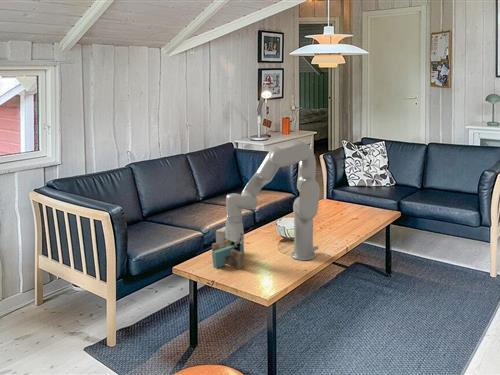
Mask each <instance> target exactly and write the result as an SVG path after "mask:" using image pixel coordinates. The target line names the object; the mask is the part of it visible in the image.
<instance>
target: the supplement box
mask: <svg viewBox="0 0 500 375" xmlns="http://www.w3.org/2000/svg"><path fill="white" fill-rule="evenodd" d="M215 241H216V242H215V243H218V244H221V245H224V246H225V247H228V246H230V245H229V241H228V240H227V239H226V238H225V226H223V227H222V228H219V229H216V230H215Z"/></svg>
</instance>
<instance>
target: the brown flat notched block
mask: <svg viewBox="0 0 500 375" xmlns="http://www.w3.org/2000/svg"><path fill="white" fill-rule="evenodd" d="M222 248H225V246H224V245H221V244H218V243H216V242H214V243H212V244H211V250H212V251H211V254H212V255H211V256H212V259H213V251H216V250H219V249H222ZM225 263H226V266H227V265H228V266H230V267H232V268H235V269H237V270H240V271H241V270H244V269H245V252H244V253H242V252H240V251H237V250H234V249H233V250H230V256H228V257H225Z"/></svg>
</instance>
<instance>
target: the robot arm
mask: <svg viewBox="0 0 500 375" xmlns="http://www.w3.org/2000/svg"><path fill="white" fill-rule="evenodd" d="M294 164H298V172H297V180H296V181H297V182H296V189H297V190H298V193H299V196H298V197H296V198H295V199H294V201H293V203H292V204H293V205H292V208H293V209H292V210H293V226H294V227H293V230H294V231H293V234H294V236H293V243H294V244H293V249H294V250H293V251H292V252H291V255H290V256H291V258H292V259H294V260H297V261H310V260H313V259H315V258H316V256H317V254H316V253H315V251H316V250H319V246H318V245H314V218H315V217H316V216H317V214H318V209H319V202H320V193H321V188H320V185H319V182H317V181H316V173H317V172H316V170H317V160H316V156H315V153H314V152H313V150H312V148H311V147H310V145H309V144H307V143H306V142H304V141H303V140H299V139H296V140H293V141H292V142H291V143H290V145H289V147H285V148H281V147H272V148H271V149H270V150H269V151H268V153H267V154H266V156H265V158H264V159H263V161H262V163H261V164H260V166H259V167H258V169H257V170H256V171H255V173H254V174H253V175H252V177H251V178H250V179H249V181H248V182H247V184H246V185H245V187H244V188H243V189H242V192H241V194H240V193H234V192H233V193H228V194H227V195H226V198H225V201H226V204H225V206H226V207H225V208H226V220H225V226H224V227H225V238H226V239H227V240H228V241H229V245H230V246H231V245H234V244H235V250H237V251H240V246H241V245H242V244H244V245H245V241H244V239H245V235H244V234H245V232H244V231H245V230H244V224H243V215H242V214H243V211H242V210H253V209H256V207H257V205H258V202H259V201H258V199H257V196H258V194H259V193H260V191H261V190H262V188H264V186H266V185H267V184H269V183H271V182H272V181H273V178H274V177H275V175H276V174H277V172H278V170H279V169H280V168H284V167H287V166H291V165H294ZM237 243H238V244H237Z"/></svg>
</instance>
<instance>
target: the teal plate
mask: <svg viewBox="0 0 500 375" xmlns="http://www.w3.org/2000/svg"><path fill="white" fill-rule="evenodd" d="M237 244H238V243H237ZM244 247H245V243H244V244H242V245H241V246H240V252H242V253H244V254H245V248H244ZM233 249H234V250H235V244H234V245H231V246H228V247H225V248H222V249H219V250H216V251H213V258H212V266H213V268H215V269H219V268H221V267H224V266H227V264H226V263H225V257H228V256H230V250H233Z"/></svg>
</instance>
